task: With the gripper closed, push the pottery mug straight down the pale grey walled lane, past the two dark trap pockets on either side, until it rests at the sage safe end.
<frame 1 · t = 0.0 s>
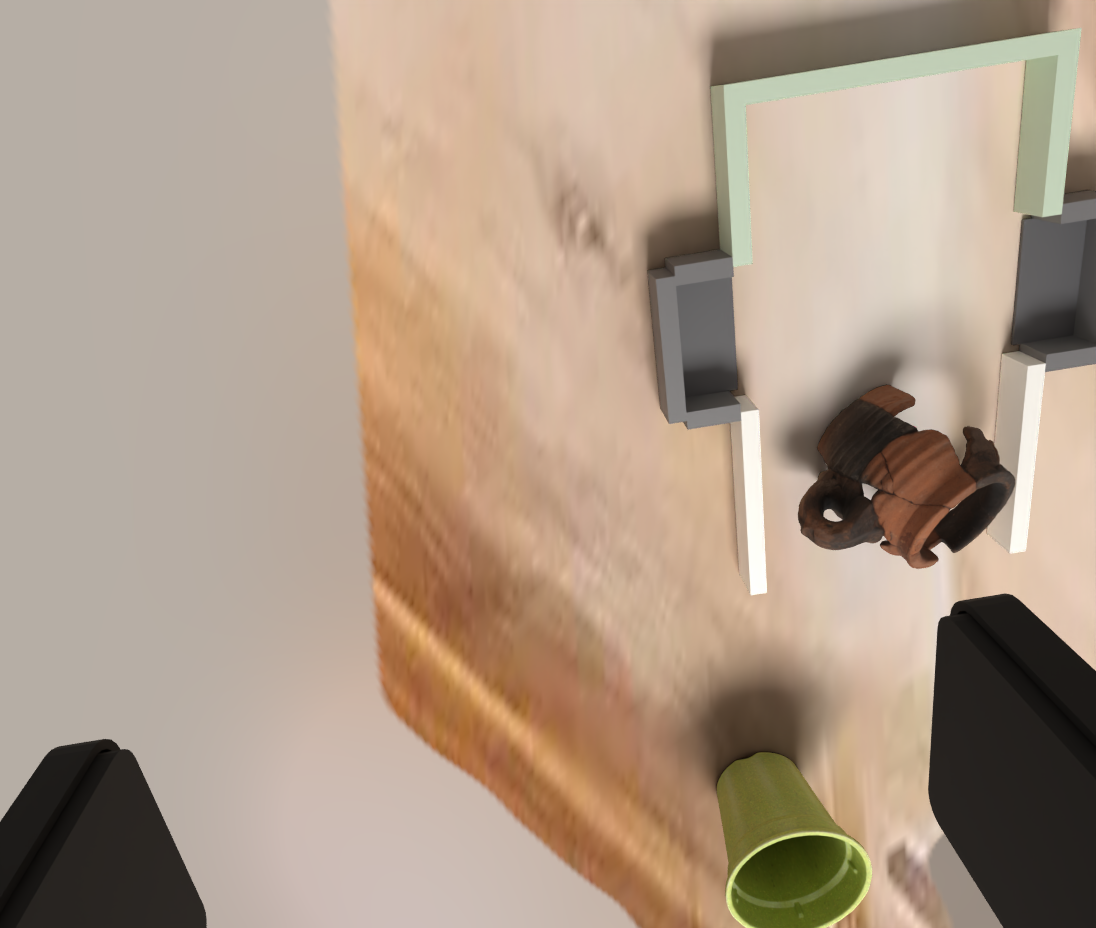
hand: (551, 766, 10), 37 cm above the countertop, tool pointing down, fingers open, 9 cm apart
pottery mug: (870, 463, 50), on the countertop
trap box: (874, 341, 46), on the countertop
plant pot: (757, 780, 60), on the countertop
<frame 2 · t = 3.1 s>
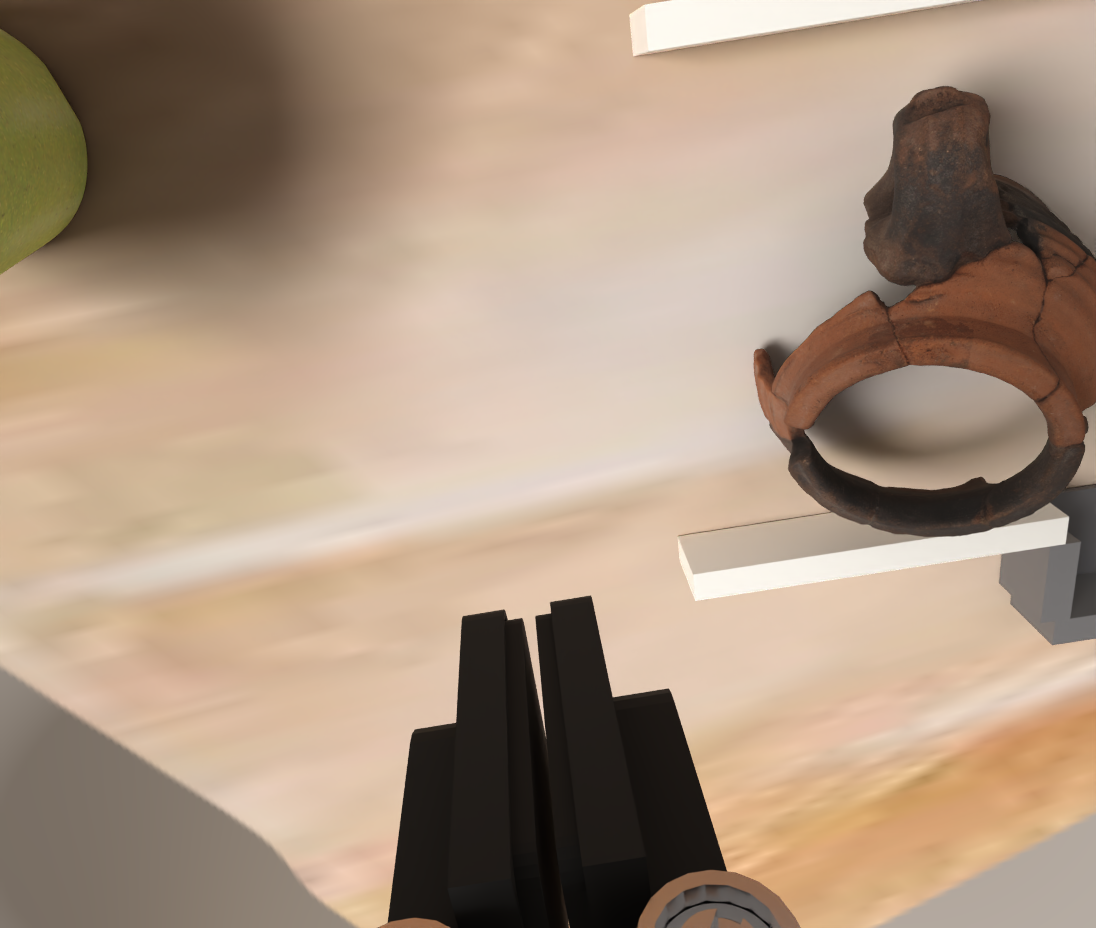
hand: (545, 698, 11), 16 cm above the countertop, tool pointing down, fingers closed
pottery mug: (888, 291, 25), on the countertop
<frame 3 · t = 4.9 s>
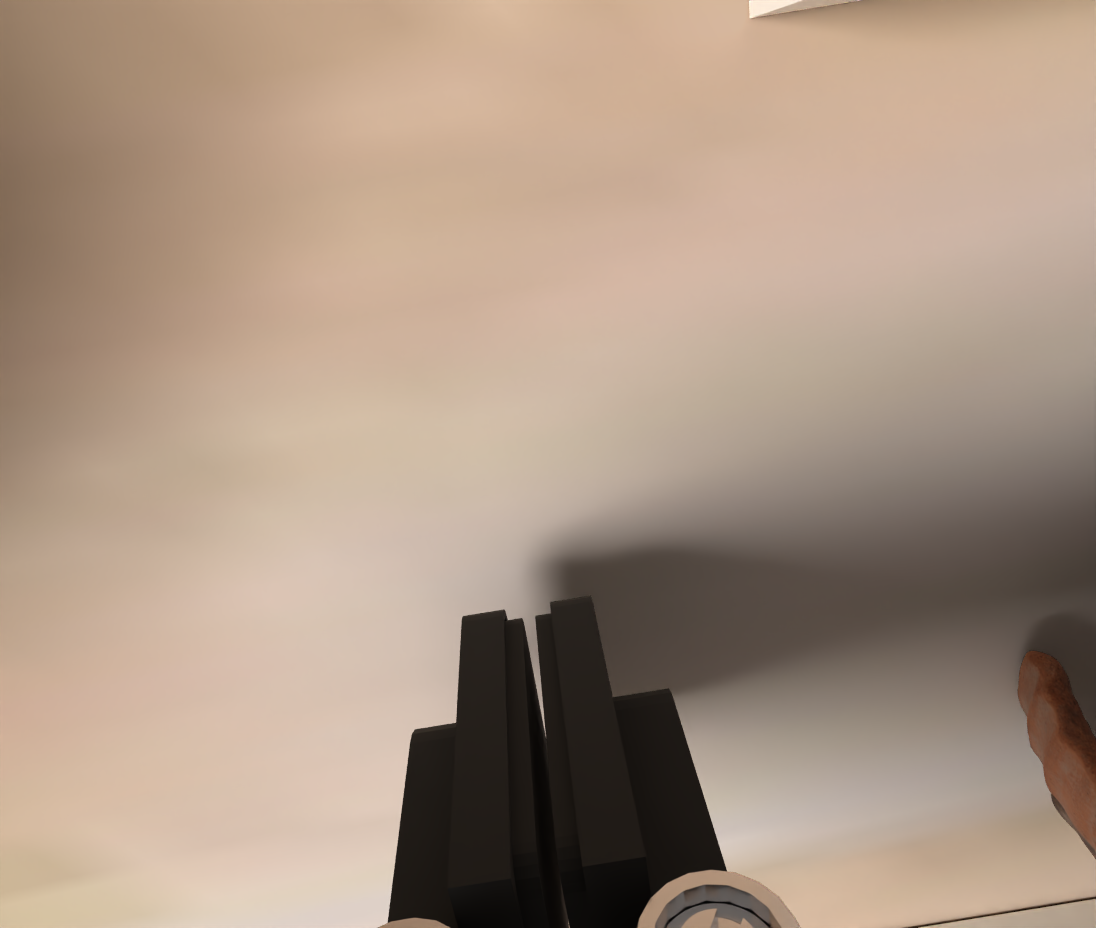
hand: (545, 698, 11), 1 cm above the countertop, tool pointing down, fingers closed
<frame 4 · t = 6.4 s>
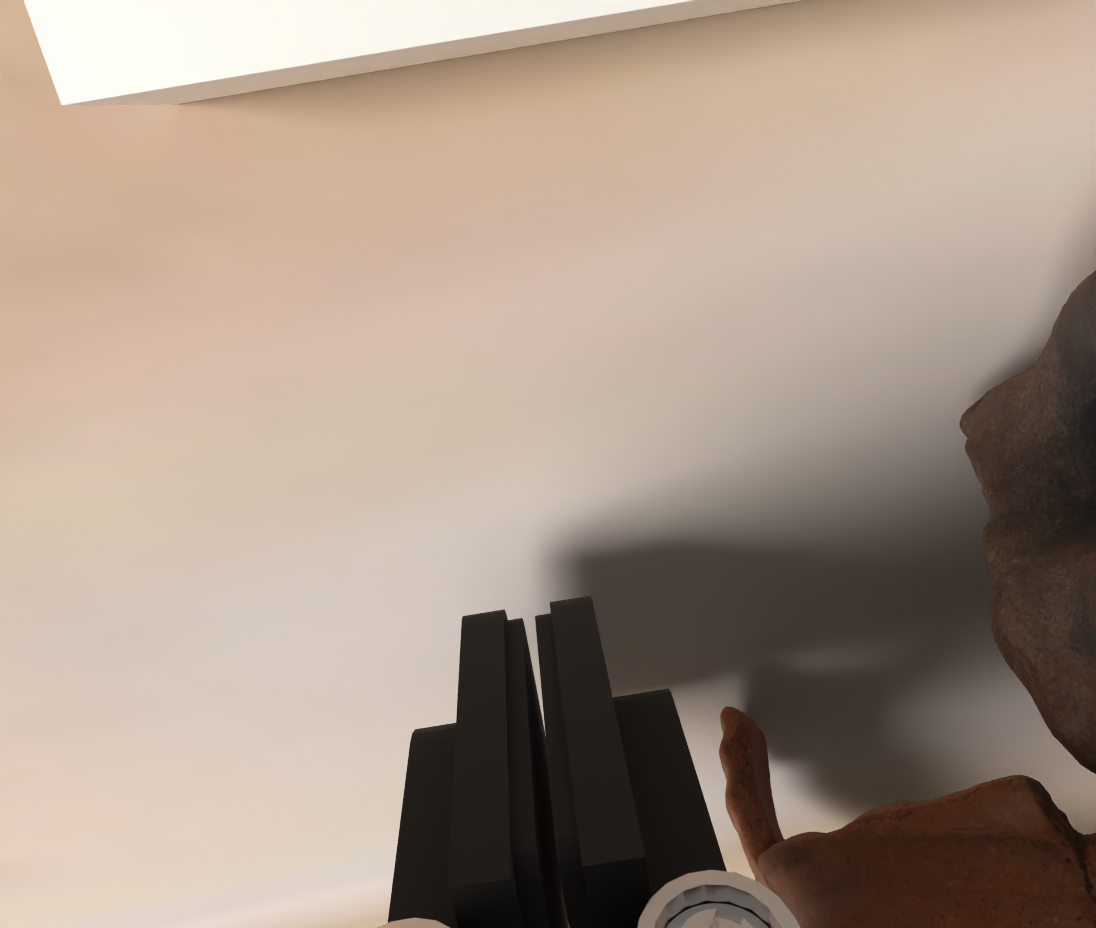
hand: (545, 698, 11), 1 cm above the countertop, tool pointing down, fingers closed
pottery mug: (998, 568, 12), on the countertop, touching gripper
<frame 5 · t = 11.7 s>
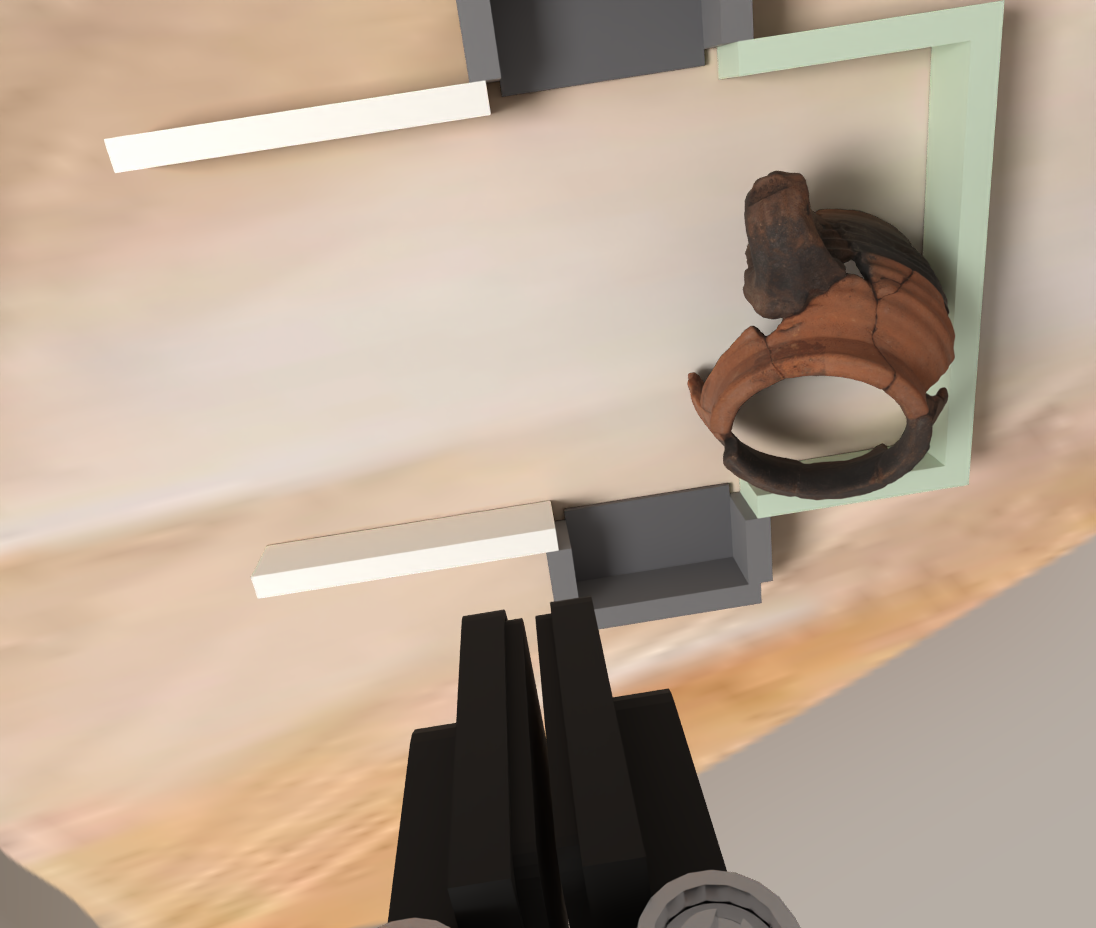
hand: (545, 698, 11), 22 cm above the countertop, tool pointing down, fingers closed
pottery mug: (787, 309, 32), on the countertop, touching trap box
trap box: (574, 318, 31), on the countertop
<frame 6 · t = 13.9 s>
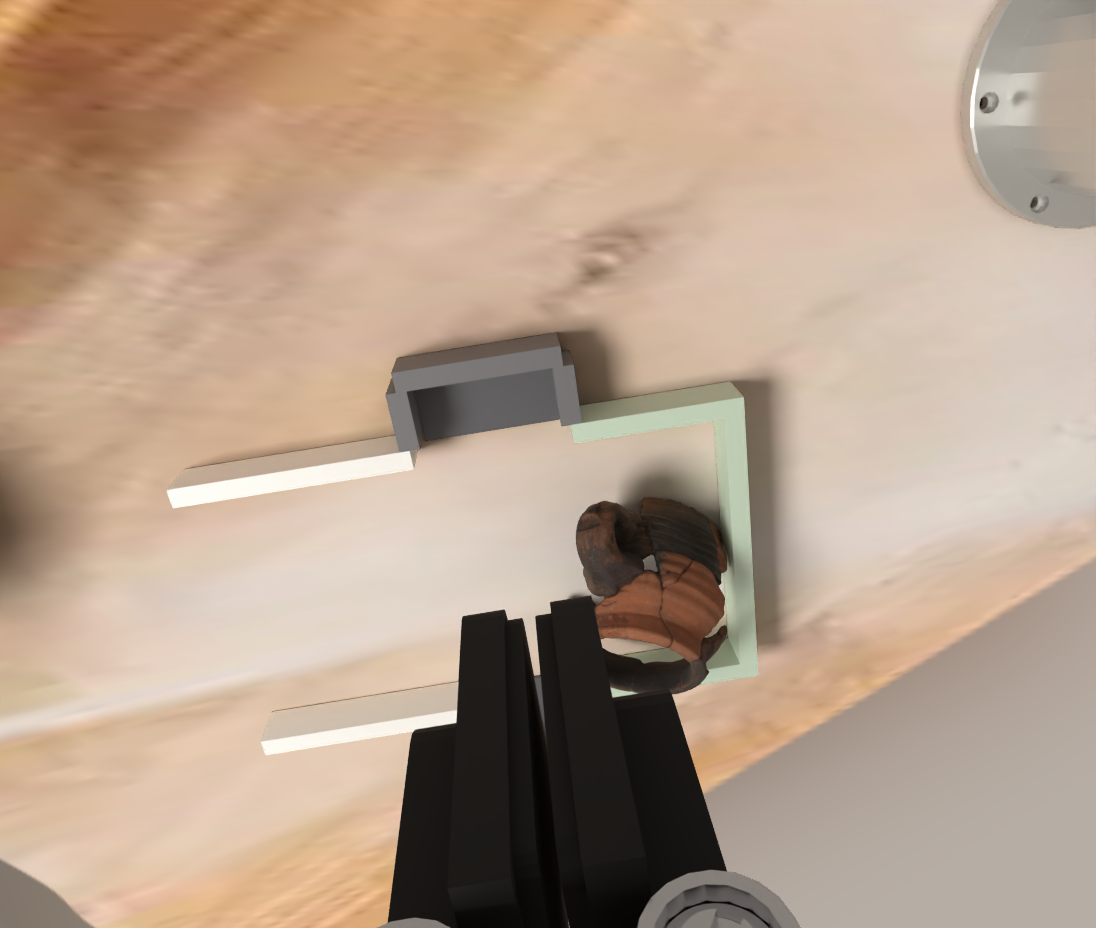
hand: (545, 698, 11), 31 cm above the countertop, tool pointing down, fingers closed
pottery mug: (630, 556, 46), on the countertop
trap box: (481, 566, 46), on the countertop
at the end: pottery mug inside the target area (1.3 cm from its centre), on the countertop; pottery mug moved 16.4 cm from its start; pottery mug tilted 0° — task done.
